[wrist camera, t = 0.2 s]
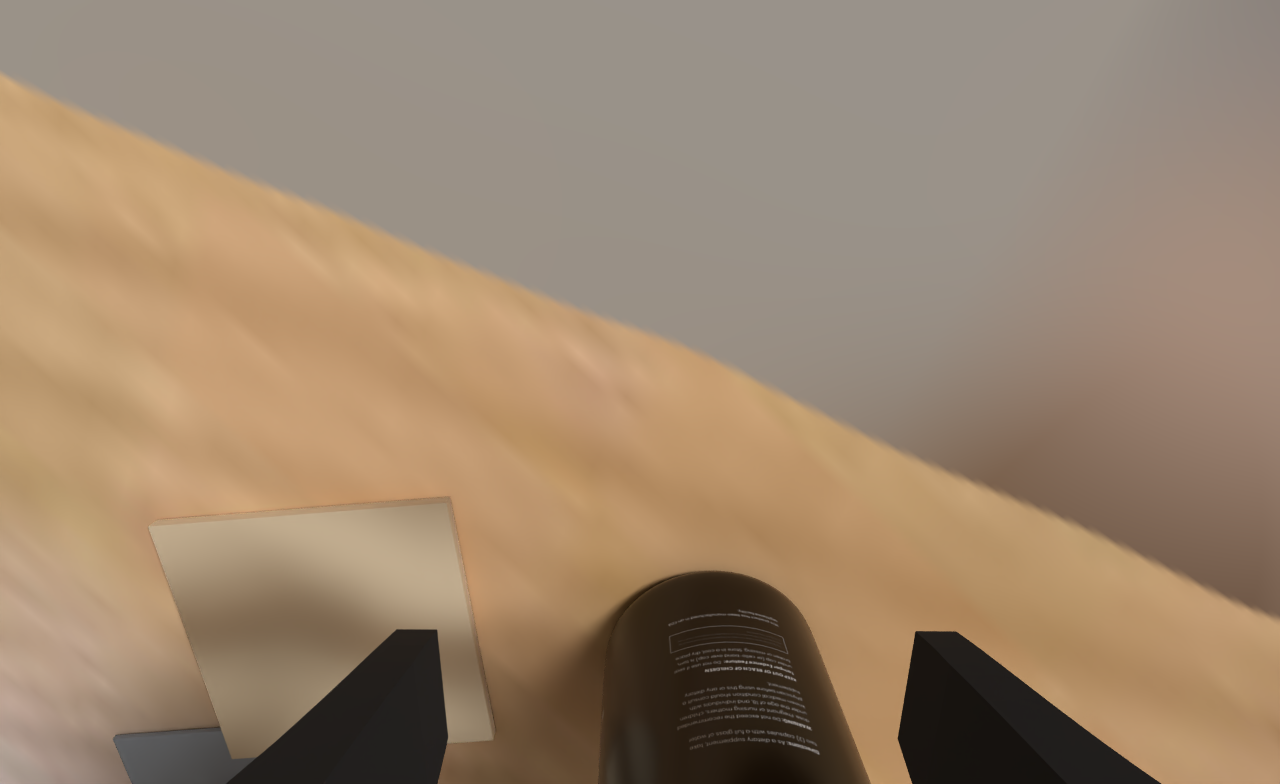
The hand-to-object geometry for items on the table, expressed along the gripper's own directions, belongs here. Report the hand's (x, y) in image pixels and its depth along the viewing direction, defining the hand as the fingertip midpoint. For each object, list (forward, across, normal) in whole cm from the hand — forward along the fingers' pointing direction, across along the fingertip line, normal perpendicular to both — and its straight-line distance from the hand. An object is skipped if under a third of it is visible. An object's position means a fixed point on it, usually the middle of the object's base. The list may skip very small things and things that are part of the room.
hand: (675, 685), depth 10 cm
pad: (+10, +10, +7) cm, 16 cm away
